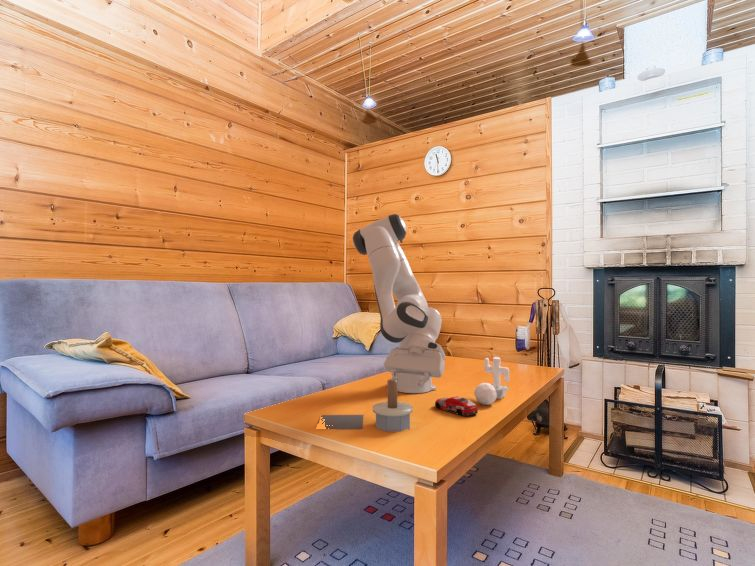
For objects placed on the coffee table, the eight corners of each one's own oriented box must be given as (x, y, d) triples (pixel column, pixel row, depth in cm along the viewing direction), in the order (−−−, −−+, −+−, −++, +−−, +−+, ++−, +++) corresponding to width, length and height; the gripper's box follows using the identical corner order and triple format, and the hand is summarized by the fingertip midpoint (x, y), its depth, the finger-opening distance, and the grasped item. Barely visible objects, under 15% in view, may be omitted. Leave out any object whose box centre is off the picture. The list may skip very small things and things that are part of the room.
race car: (431, 408, 150) (431, 393, 150) (444, 404, 154) (444, 391, 154) (466, 419, 137) (466, 403, 137) (480, 415, 141) (480, 400, 141)
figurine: (506, 400, 158) (506, 360, 158) (481, 397, 163) (481, 357, 163) (511, 396, 164) (511, 357, 164) (487, 393, 169) (487, 355, 169)
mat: (320, 416, 140) (320, 415, 140) (363, 415, 140) (363, 414, 140) (314, 430, 126) (314, 429, 126) (362, 430, 126) (362, 429, 126)
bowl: (375, 421, 134) (375, 405, 134) (407, 421, 134) (407, 405, 134) (376, 432, 124) (376, 415, 124) (410, 432, 124) (410, 415, 124)
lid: (372, 404, 135) (372, 376, 135) (410, 404, 135) (410, 376, 135) (372, 416, 123) (372, 385, 123) (414, 416, 123) (414, 384, 123)
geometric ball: (483, 413, 152) (473, 397, 149) (478, 399, 159) (468, 384, 157) (502, 403, 150) (492, 387, 148) (497, 390, 158) (487, 374, 155)
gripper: (389, 341, 148) (374, 375, 139) (445, 345, 137) (433, 382, 129) (395, 352, 151) (381, 386, 143) (450, 357, 141) (438, 393, 132)
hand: (406, 384), depth 136 cm, fingers open, 8 cm apart
